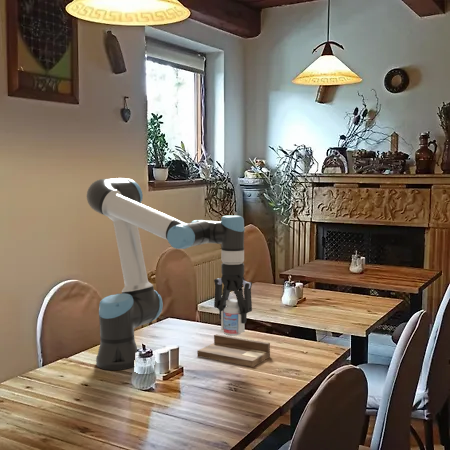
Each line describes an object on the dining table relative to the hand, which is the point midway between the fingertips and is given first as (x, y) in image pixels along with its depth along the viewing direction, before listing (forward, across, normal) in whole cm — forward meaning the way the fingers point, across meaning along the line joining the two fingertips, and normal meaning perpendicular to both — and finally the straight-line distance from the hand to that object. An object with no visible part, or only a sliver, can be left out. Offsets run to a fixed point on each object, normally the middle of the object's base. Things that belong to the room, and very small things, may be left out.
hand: (232, 330), depth 197 cm
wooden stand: (+13, +6, -10) cm, 18 cm away
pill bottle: (+1, 0, 0) cm, 1 cm away
